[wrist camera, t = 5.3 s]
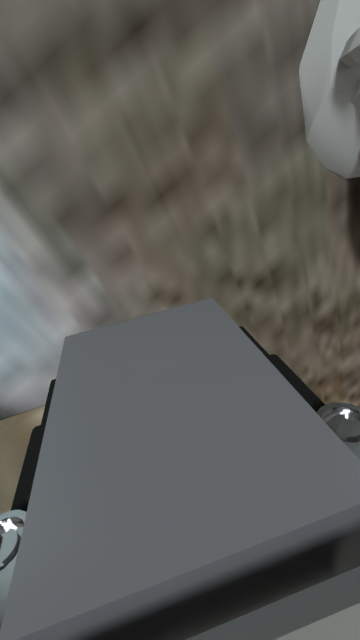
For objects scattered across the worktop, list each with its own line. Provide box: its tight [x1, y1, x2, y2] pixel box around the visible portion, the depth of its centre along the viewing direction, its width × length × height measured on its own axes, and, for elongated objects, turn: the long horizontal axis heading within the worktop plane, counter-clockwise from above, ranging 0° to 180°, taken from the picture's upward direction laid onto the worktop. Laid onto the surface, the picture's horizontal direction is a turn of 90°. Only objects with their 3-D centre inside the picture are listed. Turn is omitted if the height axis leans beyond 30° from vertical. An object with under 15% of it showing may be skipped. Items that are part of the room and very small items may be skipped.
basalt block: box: [0, 298, 360, 640], centre depth 8 cm, size 5×5×7 cm
